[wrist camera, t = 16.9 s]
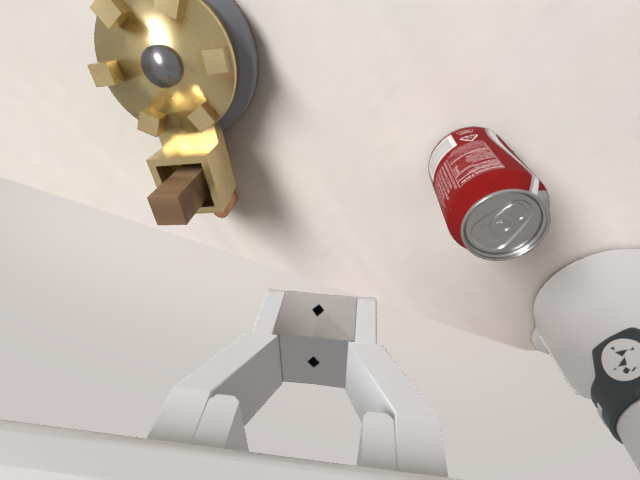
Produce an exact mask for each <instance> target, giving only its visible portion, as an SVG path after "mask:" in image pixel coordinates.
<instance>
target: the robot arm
mask: <svg viewBox="0 0 640 480" xmlns="http://www.w3.org/2000/svg"><path fill="white" fill-rule="evenodd" d="M376 310H377V309H376V299H375V298H370V297H353V296H340V295H328V294H316V293H307V292H297V291H288V290H287V291H284V290H276V289H269V290H268V291H267V292H266V294H265V297H264V300H263V303H262V305H261V308H260V311H259V314H258V316H257V319H256V322H255V325H254V327H253V330H252V332H246V333H244V334H243V335H241V336H240V337H239V338H238V339H236V340H235V341H234V342H232V343H231V344H230V345H228V346H227V347H226V348H224V349H223V350H222V351H220V352H219V353H218V354H216V355H215V356H214V357H212V358H211V359H210V360H208V361H207V362H206V363H204V364H203V365H202V366H200V367H199V368H198V369H196V370H195V371H194V372H192V373H191V374H190V375H188V376H187V377H186V378H184V379H183V380H182V381H180V382H179V383H178V384H176V385H175V386H174V387H173V388H172V390H171V392H170V394H169V396H168V398H167V400H166V402H165V404H164V406H163V407H162V409H161V411H160V413H159V415H158V417H157V419H156V421H155V423H154V425H153V427H152V429H151V431H150V433H149V435H148V437H147V439H146V438H138V437H130V436H122V435H115V434H108V433H100V432H92V431H84V430H77V429H69V428H62V427H53V426H46V425H39V424H31V423H23V422H16V421H8V420H1V419H0V480H461V479H453V478H448V473H447V467H446V460H445V454H444V447H443V441H442V435H441V428H440V422H439V418H438V417H437V415H436V414H435V413H434V411H433V410H432V409H431V407H430V406H429V405H428V404H427V402H426V401H425V400H424V398H423V397H422V396H421V394H420V393H419V392H418V391H417V389H416V388H415V387H414V385H413V384H412V383H411V381H410V380H409V379H408V378H407V376H406V375H405V374H404V372H403V371H402V370H401V368H399V366H398V365H397V363H396V362H395V361H394V359H393V358H392V357H391V356H390V354H389V353H388V352H387V350H386V349H385V348H384V346H383V345H377V317H376V316H377V315H376V314H377V311H376ZM533 315H534V319H535V329H534V331H533V334H532V337H531V343H532V344H533V346H534V347H535V349H537V350H539V351H541V352H544V353H547V354H550V355H551V357H552V358H553V360H554V361H555V363H556V365H557V366H558V368H559V370H560V371H561V373H562V374H563V376H564V378H565V379H566V381H567V383H568V384H569V386H570V387H571V389H572V390H573V391H574V392H575V393H576V394H580V395H582V396H584V397H586V398H589V399H592V401H593V403H594V404H595V406H596V408H597V410H598V414H599V416H600V417H601V419H602V421H603V422H604V424H605V425H606V426H607V427H608V428H609V430H610V431H611V433H612V435H613V436H614V437H615V438H616V439H617V440H618V441H619V442H620V443H622V444H624V446H625V448H626V449H627V451H628V453H629V454H630V456H631V458H632V460H633V462H634V463H635V465H636V467H637V469H638V470H639V472H640V249H616V250H609V251H604V252H600V253H596V254H593V255H590V256H587V257H584V258H582V259H579V260H577V261H575V262H573V263H571V264H569V265H568V266H566V267H564V268H563V269H561V270H560V271H558V272H557V273H556V274H555V275H553V276H552V277H551V278H550V279H549V280H548V281H547V282H546V283H545V284H544V285H543V287H542V288H541V289H540V291H539V293H538V294H537V297H536V299H535V302H534V306H533ZM282 381H285V382H297V383H308V384H317V385H325V386H332V387H340V388H345V391H346V393H347V395H348V397H349V399H350V401H351V402H352V405H353V407H354V409H355V411H356V413H357V415H358V417H359V419H360V421H361V423H362V429H361V436H360V444H359V452H358V459H357V466H354V465H346V464H338V463H330V462H323V461H314V460H308V459H299V458H292V457H284V456H276V455H269V454H261V453H253V452H249V450H248V444H247V439H246V434H245V429H244V426H245V425H246V424H247V423H248V422H249V420H250V419H251V418H252V417H253V416H254V415H255V414H256V412H257V411H258V410H259V409H260V408H261V407H262V406H263V405H264V404H265V402H266V401H267V400H268V399H269V398H270V397H271V396H272V394H273V393H274V392H275V391H276V390H277V389H278V388H279V387H280V386H281V384H282Z"/></svg>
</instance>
